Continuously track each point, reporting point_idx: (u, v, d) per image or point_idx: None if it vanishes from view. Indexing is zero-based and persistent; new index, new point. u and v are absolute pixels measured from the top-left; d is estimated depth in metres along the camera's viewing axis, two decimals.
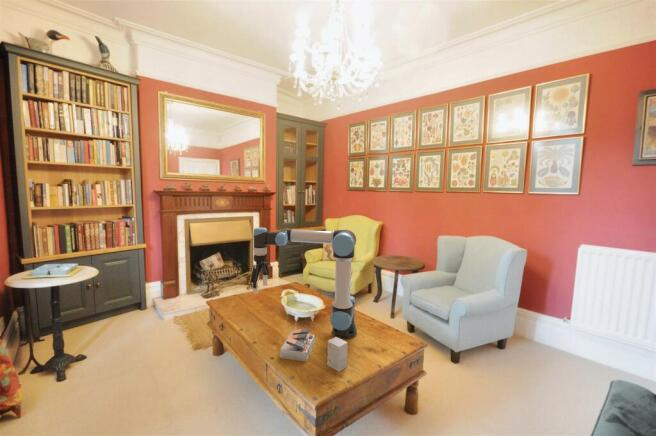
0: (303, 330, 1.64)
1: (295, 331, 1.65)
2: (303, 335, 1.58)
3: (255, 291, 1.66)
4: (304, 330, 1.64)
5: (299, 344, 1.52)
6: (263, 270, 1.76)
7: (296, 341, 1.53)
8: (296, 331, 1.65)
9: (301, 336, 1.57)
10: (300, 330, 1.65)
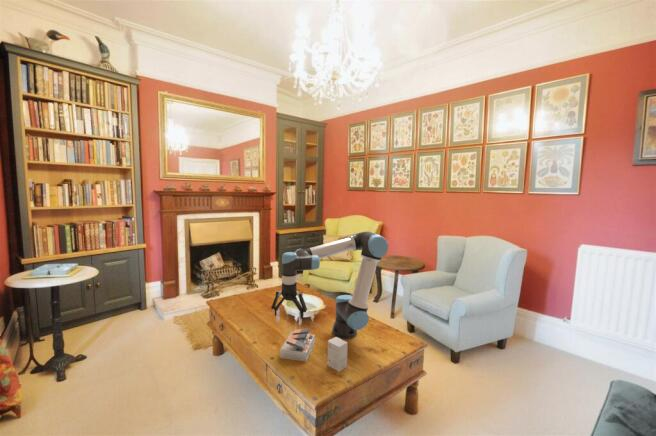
0: (303, 330, 1.64)
1: (295, 331, 1.65)
2: (303, 335, 1.58)
3: None
4: (304, 330, 1.64)
5: (299, 344, 1.52)
6: None
7: (296, 341, 1.53)
8: (296, 331, 1.65)
9: (301, 336, 1.57)
10: (300, 330, 1.65)
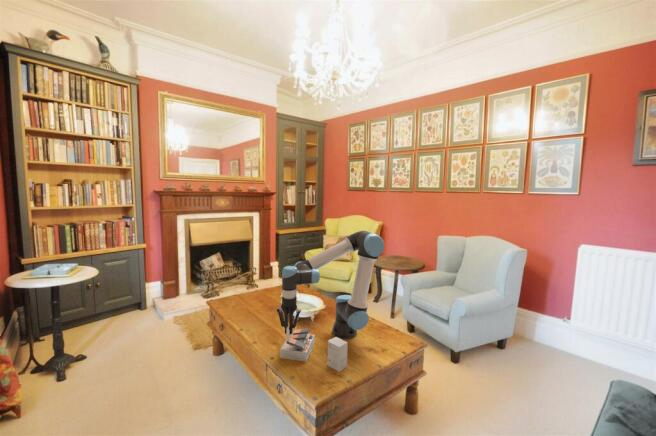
0: (303, 330, 1.64)
1: (295, 331, 1.65)
2: (303, 335, 1.58)
3: None
4: (304, 330, 1.64)
5: (299, 344, 1.52)
6: None
7: (296, 341, 1.53)
8: (296, 331, 1.65)
9: (301, 336, 1.57)
10: (300, 330, 1.65)
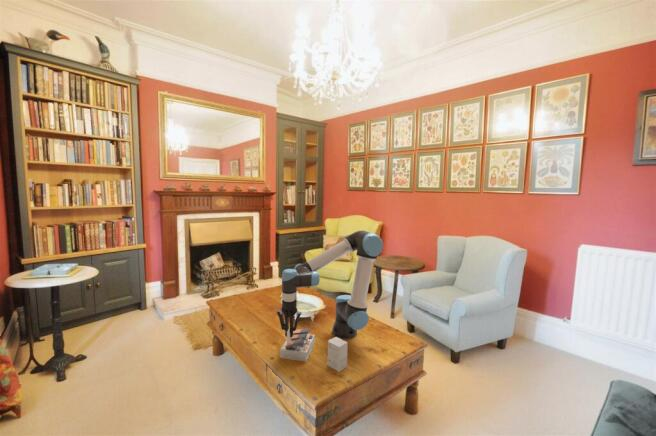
0: (303, 330, 1.64)
1: (295, 331, 1.65)
2: (303, 335, 1.58)
3: None
4: (304, 330, 1.64)
5: (297, 341, 1.52)
6: None
7: (294, 341, 1.54)
8: (296, 331, 1.65)
9: (301, 336, 1.57)
10: (300, 330, 1.65)
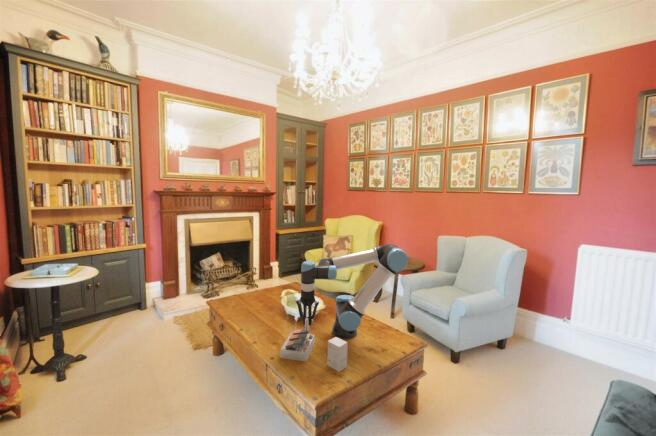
0: (303, 330, 1.64)
1: (295, 331, 1.65)
2: (303, 335, 1.58)
3: None
4: (304, 330, 1.64)
5: (297, 341, 1.52)
6: None
7: (294, 341, 1.54)
8: (296, 331, 1.65)
9: (301, 336, 1.57)
10: (300, 330, 1.65)
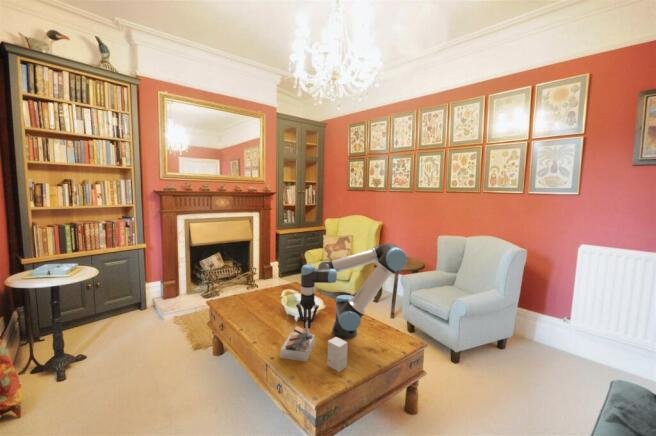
0: None
1: (297, 328, 1.65)
2: (303, 335, 1.58)
3: None
4: None
5: (297, 341, 1.52)
6: None
7: (294, 341, 1.54)
8: (298, 329, 1.64)
9: (301, 336, 1.57)
10: (302, 330, 1.65)
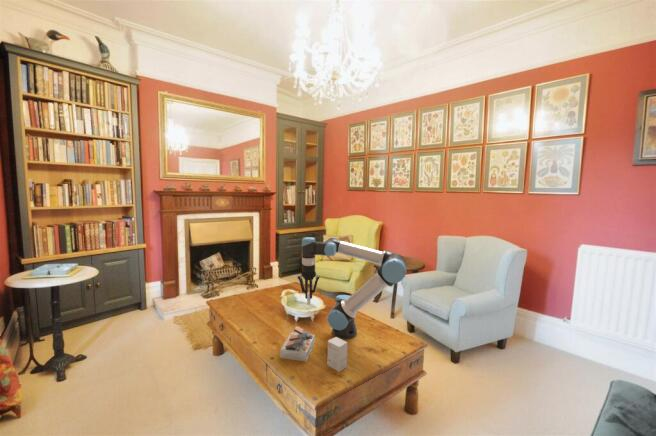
0: (305, 332, 1.64)
1: (297, 328, 1.65)
2: (303, 335, 1.58)
3: None
4: None
5: (297, 341, 1.52)
6: None
7: (294, 341, 1.54)
8: (298, 329, 1.64)
9: (301, 336, 1.57)
10: (302, 330, 1.65)
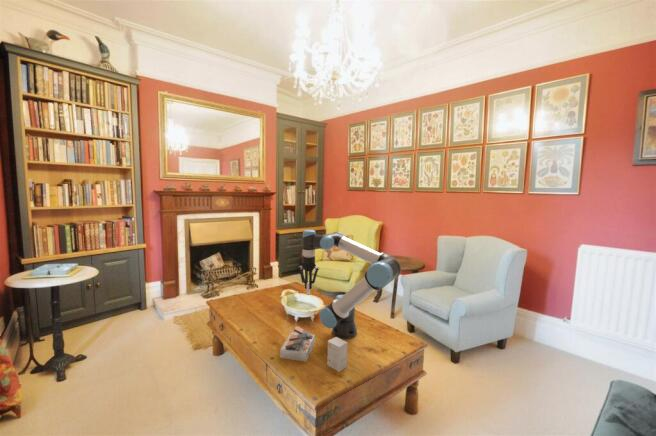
0: (305, 332, 1.64)
1: (297, 328, 1.65)
2: (303, 335, 1.58)
3: None
4: None
5: (297, 341, 1.52)
6: None
7: (294, 341, 1.54)
8: (298, 329, 1.64)
9: (301, 336, 1.57)
10: (302, 330, 1.65)
